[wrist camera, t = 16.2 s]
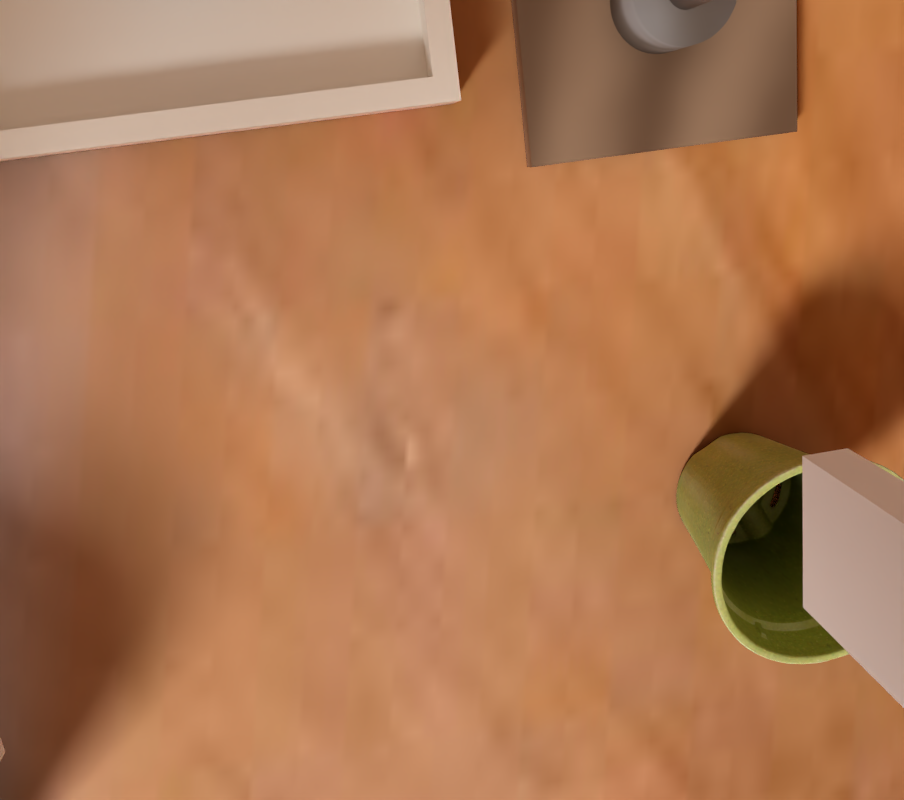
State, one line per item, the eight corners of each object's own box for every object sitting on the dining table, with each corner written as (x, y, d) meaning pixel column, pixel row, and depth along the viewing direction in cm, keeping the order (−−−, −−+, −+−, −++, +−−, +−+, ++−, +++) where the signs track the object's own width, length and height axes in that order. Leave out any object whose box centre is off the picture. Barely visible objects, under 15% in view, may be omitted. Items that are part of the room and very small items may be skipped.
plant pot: (662, 389, 42) (742, 449, 33) (840, 407, 43) (958, 468, 35) (627, 563, 44) (692, 659, 36) (796, 575, 46) (896, 669, 37)
